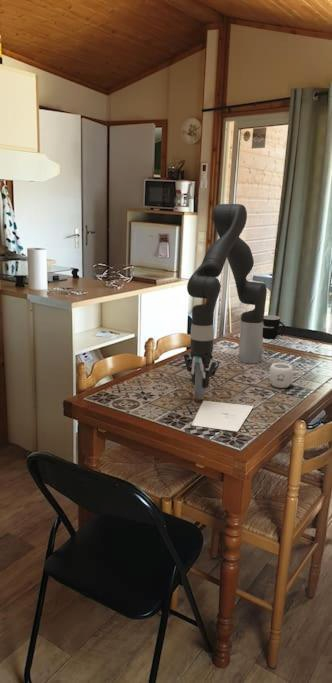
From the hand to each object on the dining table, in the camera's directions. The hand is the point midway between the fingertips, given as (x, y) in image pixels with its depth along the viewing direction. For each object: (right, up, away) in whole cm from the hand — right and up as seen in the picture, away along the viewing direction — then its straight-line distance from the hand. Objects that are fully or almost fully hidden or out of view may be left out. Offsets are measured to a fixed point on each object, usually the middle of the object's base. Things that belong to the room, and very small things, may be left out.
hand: (200, 386), depth 181 cm
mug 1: (+40, +17, +82) cm, 93 cm away
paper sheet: (+1, -8, -8) cm, 12 cm away
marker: (0, -3, +1) cm, 3 cm away
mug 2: (+32, -2, +16) cm, 36 cm away
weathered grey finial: (0, 0, +21) cm, 21 cm away
